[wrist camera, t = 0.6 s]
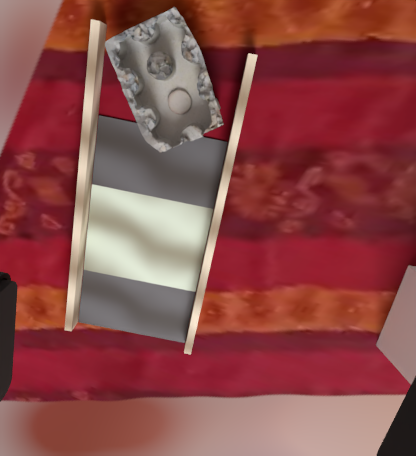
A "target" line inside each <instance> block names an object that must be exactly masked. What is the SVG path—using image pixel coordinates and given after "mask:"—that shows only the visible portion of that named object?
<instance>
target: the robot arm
mask: <svg viewBox="0 0 416 456" xmlns="http://www.w3.org/2000/svg"><path fill="white" fill-rule="evenodd" d="M16 301H17V284H16V282H14V281H11V278H10V275H9V274H8V273H3V272H0V401H1V400H2V399H3V397H4V396H5V394H6V393H7V391H8V389H9V386H10V383H11V380H12V368H13V351H14V334H15V318H16ZM377 456H416V376H415V378H414V380H413V382H412V384H411V386H410V388H409V390H408V392H407V394H406V396H405V399H404V400H403V402H402V404H401V406H400V408H399V410H398V412H397V414H396V416H395V418H394V421H393V422H392V424H391V426H390V428H389V430H388V432H387V434H386V437H385V438H384V440H383V442H382V444H381V446H380V448H379V450H378V453H377Z"/></svg>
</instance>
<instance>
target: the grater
mask: <svg viewBox="0 0 416 456" xmlns="http://www.w3.org/2000/svg"><path fill="white" fill-rule="evenodd" d="M376 346H377V347H378V348H379V349H380V350H381V351H382V352H383V354H384V355H385V356H386V357H387V358H388V359H389V360H390V361H391V363H392V364H393V365H394V366H395V367H396V368H397V369H398V371H399V372H400V373H401V374H402V375H403V376H404V377H405V378H406V380H407V381H408V382H409V383H410V384H412V382H413V380H414V378H415V376H416V266H411V265H408V268H407V270H406V272H405V275H404V277H403V280H402V282H401V285H400V287H399V290H398V292H397V295H396V297H395V300H394V302H393V304H392V307H391V309H390V312H389V314H388V317H387V319H386V322H385V324H384V327H383V329H382V332H381V334H380V336H379V339H378V341H377V344H376Z"/></svg>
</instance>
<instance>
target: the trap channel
mask: <svg viewBox="0 0 416 456" xmlns="http://www.w3.org/2000/svg"><path fill="white" fill-rule="evenodd" d="M106 29H107V25H106V24H104V23H103V22H101V21H97V20H92V19H91V24H90V36H89V48H88V60H87V72H86V83H85V95H84V107H83V119H82V131H81V142H80V154H79V166H78V178H77V190H76V201H75V213H74V225H73V237H72V249H71V260H70V272H69V284H68V296H67V308H66V320H65V330H67V331H72V330H73V328H74V327H75V325H76V324H77V322H78V316H79V322H81V323H86V324H91V325H96V326H101V327H106V328H111V329H117V330H122V331H127V332H132V333H137V334H142V335H147V336H152V337H157V338H163V339H168V340H173V341H178V342H183V343H185V339H186V343H185V349H184V353H185V354H190V355H191V351H192V346H193V342H194V337H195V333H196V329H197V324H198V320H199V315H200V311H201V306H202V302H203V297H204V293H205V288H206V284H207V279H208V275H209V270H210V266H211V261H212V257H213V252H214V248H215V243H216V239H217V234H218V230H219V226H220V221H221V217H222V212H223V208H224V203H225V199H226V194H227V190H228V185H229V181H230V176H231V172H232V167H233V163H234V158H235V154H236V149H237V145H238V140H239V136H240V131H241V127H242V122H243V118H244V114H245V109H246V105H247V100H248V96H249V91H250V87H251V82H252V78H253V73H254V69H255V64H256V60H257V55H255V54H250V53H248V55H247V59H246V64H245V68H244V73H243V78H242V82H241V87H240V92H239V96H238V101H237V105H236V110H235V115H234V119H233V124H232V129H231V133H230V138H229V143H228V142H225V141H220V140H215V139H211V138H206V137H201V138H199V139H196V140H193V141H191V142H190V141H187V142H184V143H183V144H181V145H179V146H177V147H174V148H170V149H169V150H167V151H165V152H159V151H158V150H156V149H155V148H154V147H152V146H151V145H149V144H148V143H147V142H146V141H145V139H144V137H143V136H142V134H141V131H140V129H139V127H138V124H137V123H134V122H129V121H125V120H120V119H115V118H110V117H106V116H101V115H99V118H98V111H99V101H100V91H101V80H102V70H103V60H104V50H105V40H106ZM97 121H98V129H97ZM96 132H97V139H96ZM95 142H96V149H95ZM227 143H228V147H227ZM226 147H227V152H226ZM94 152H95V159H94ZM225 152H226V157H225ZM224 157H225V161H224ZM223 161H224V166H223ZM93 162H94V169H93ZM222 166H223V171H222ZM221 171H222V175H221ZM92 172H93V179H92ZM220 175H221V180H220ZM219 180H220V185H219ZM91 183H92V190H91ZM218 185H219V189H218ZM217 189H218V194H217ZM90 193H91V200H90ZM216 194H217V199H216ZM215 199H216V203H215ZM89 203H90V210H89ZM214 203H215V208H214ZM213 208H214V213H213ZM88 213H89V220H88ZM212 213H213V217H212ZM211 217H212V222H211ZM210 222H211V226H210ZM87 224H88V230H87ZM209 227H210V231H209ZM208 231H209V236H208ZM86 234H87V240H86ZM207 236H208V240H207ZM206 241H207V245H206ZM85 244H86V250H85ZM205 245H206V250H205ZM204 250H205V254H204ZM84 254H85V261H84ZM203 255H204V259H203ZM202 259H203V264H202ZM83 264H84V271H83ZM201 264H202V268H201ZM200 269H201V273H200ZM199 274H200V278H199ZM82 275H83V281H82ZM198 278H199V282H198ZM197 283H198V287H197ZM81 285H82V291H81ZM196 288H197V292H196ZM195 292H196V296H195ZM80 295H81V301H80ZM194 297H195V301H194ZM193 302H194V306H193ZM79 305H80V311H79ZM192 306H193V310H192ZM191 311H192V315H191ZM190 316H191V320H190ZM189 320H190V324H189ZM188 325H189V329H188ZM187 330H188V333H187ZM186 334H187V338H186Z"/></svg>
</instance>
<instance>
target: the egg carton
mask: <svg viewBox="0 0 416 456" xmlns="http://www.w3.org/2000/svg"><path fill="white" fill-rule="evenodd" d="M105 47H106V50H107V52H108V55H109V57H110V60H111V62H112V65H113V67H114V68H115V71H116V73H117V76H118V79H119V81H120V83H121V86H122V90H123V92H124V94H125V97H126V99H127V101H128V103H129V105H130V108H131V110H132V112H133V114H134V116H135V119H136V122H137V124H138V127H139V129H140V131H141V134H142V136H143V137H144V139H145V141H146V142H147V143H148V144H149V145H151V146H152V147H154V148H155V149H156V150H158V151H159V152H165V151H167V150H169V149H170V148H174V147H177V146H179V145H181V144H183V143H184V142H187V141H190V142H191V141H193V140H196V139H199V138H201V137H203V134H204V133H206V132H208V131H211V130H213V129H216V128H217V127H220V126H222V125H223V124H224V123H223V121H222V116H221V114H220V112H219V110H220V109H221V108H220V105H219V102H218V99H217V98H216V99H215V96H214V93H213V87H212V83H211V81H210V78H209V75H208V72H207V69H206V65H205V62H204V59H203V55H202V53H201V50H200V48H199V46H198V44H197V42H196V40H195V39H194V37H193V35H192V33H191V31H190V30H189V28H188V26H187V25H186V23H185V20H184V18H183V17H182V16H181V15H180V13H179V12H178V10H177V8H176V7H174V8H171V9H169V10H168V11H166V12H164V13H162V14H160V15H157V16H155V17H152V18H151V19H149V20H147V21H144V22H142V23H140V24H138V25H136V26H134V27H132V28H130V29H127V30H126V31H124V32H122V33H120V34H118V35H116V36H114V37H112V38H111V39H109V40H107V41H106V42H105Z"/></svg>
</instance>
